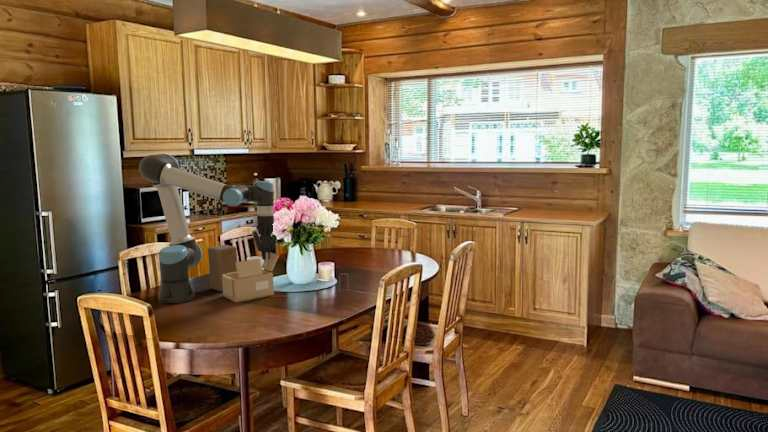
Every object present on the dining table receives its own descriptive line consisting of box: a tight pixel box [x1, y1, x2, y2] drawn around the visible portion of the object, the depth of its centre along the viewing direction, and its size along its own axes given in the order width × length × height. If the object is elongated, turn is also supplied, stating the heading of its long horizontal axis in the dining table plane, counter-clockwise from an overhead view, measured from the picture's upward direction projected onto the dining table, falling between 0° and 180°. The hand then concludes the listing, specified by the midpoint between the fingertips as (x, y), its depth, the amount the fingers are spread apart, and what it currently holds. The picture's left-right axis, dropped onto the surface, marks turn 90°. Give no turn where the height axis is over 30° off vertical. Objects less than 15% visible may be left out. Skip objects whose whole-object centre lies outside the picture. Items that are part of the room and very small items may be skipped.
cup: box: [246, 255, 265, 270], centre depth 293 cm, size 8×12×10 cm
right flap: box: [262, 251, 280, 272], centre depth 267 cm, size 8×10×1 cm
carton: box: [222, 269, 275, 303], centre depth 261 cm, size 19×15×10 cm
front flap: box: [235, 259, 263, 278], centre depth 254 cm, size 11×7×1 cm
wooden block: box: [207, 244, 238, 292], centre depth 274 cm, size 10×10×20 cm
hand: (266, 266), depth 266 cm, fingers closed
